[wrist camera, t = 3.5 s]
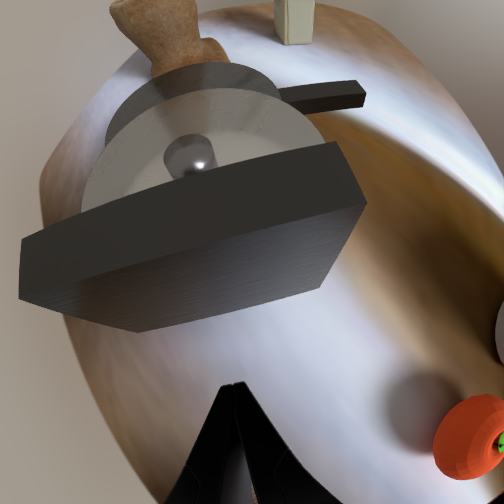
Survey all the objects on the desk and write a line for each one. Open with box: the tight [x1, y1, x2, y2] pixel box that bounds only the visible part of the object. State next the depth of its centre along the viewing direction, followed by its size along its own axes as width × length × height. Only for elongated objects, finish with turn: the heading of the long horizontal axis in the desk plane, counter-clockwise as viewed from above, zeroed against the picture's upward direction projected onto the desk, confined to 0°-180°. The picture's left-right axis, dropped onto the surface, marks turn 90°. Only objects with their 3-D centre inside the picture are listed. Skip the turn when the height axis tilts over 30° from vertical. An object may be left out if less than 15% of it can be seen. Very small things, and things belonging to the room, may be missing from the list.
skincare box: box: [274, 0, 315, 45], centre depth 28 cm, size 6×4×12 cm
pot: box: [105, 62, 366, 147], centre depth 22 cm, size 13×20×8 cm, turn 104°
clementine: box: [433, 394, 504, 480], centre depth 12 cm, size 8×7×7 cm
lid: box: [19, 88, 367, 333], centre depth 11 cm, size 14×14×8 cm
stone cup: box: [109, 0, 231, 79], centre depth 25 cm, size 15×12×15 cm
